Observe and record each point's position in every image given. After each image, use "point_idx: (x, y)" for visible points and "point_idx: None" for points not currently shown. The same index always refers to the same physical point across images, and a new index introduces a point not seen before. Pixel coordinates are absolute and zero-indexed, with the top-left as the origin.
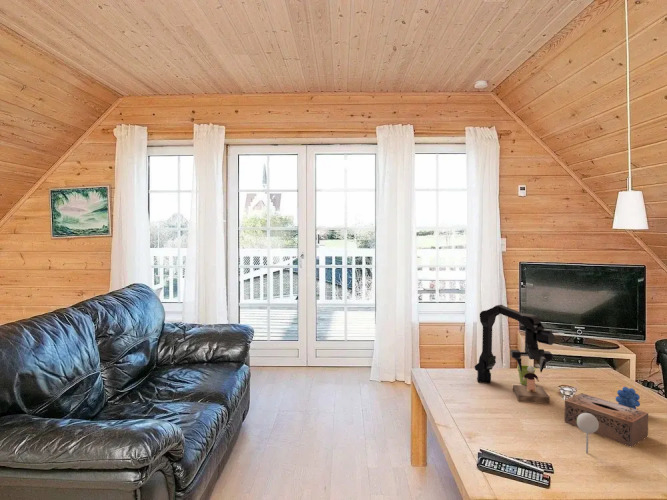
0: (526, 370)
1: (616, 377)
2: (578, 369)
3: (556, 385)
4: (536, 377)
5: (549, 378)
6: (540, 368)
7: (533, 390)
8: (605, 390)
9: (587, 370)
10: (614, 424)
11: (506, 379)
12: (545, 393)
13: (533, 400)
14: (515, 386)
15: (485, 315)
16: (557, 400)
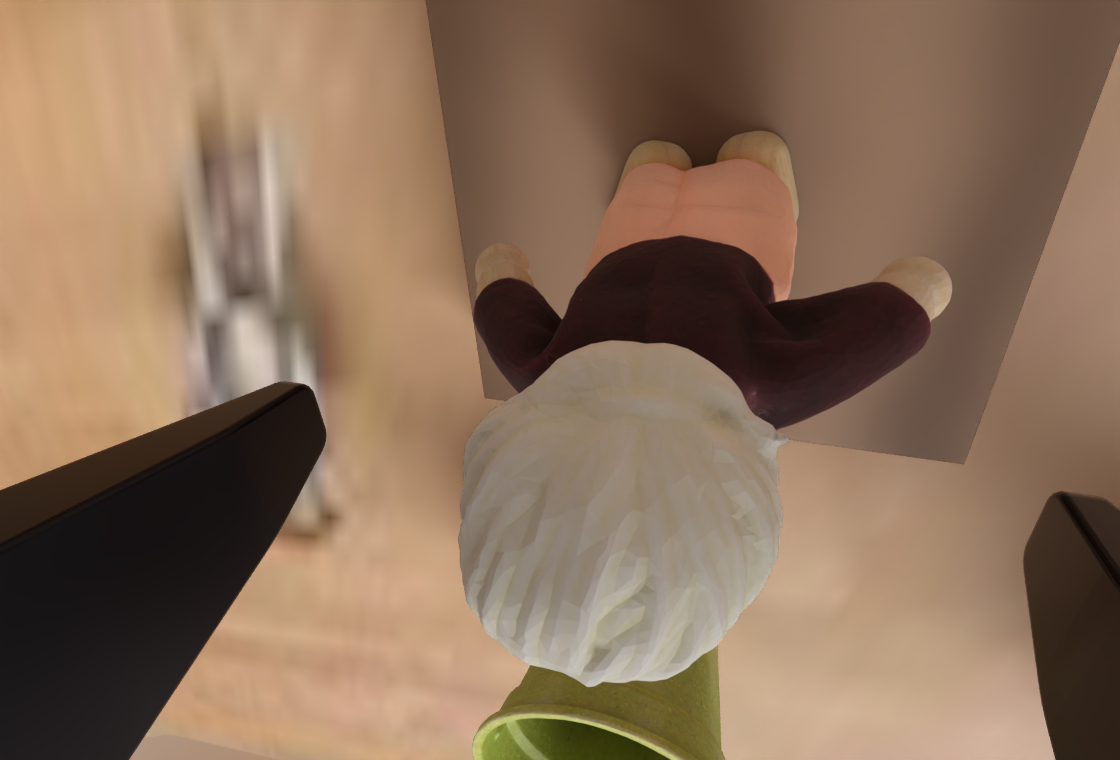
0: (622, 734)
1: None
2: (227, 740)
3: (352, 533)
4: (511, 290)
5: (403, 662)
6: (244, 507)
7: (667, 163)
8: (3, 426)
9: (180, 719)
10: None
11: (851, 707)
12: (464, 98)
13: None
14: (948, 396)
15: None
16: (342, 74)
